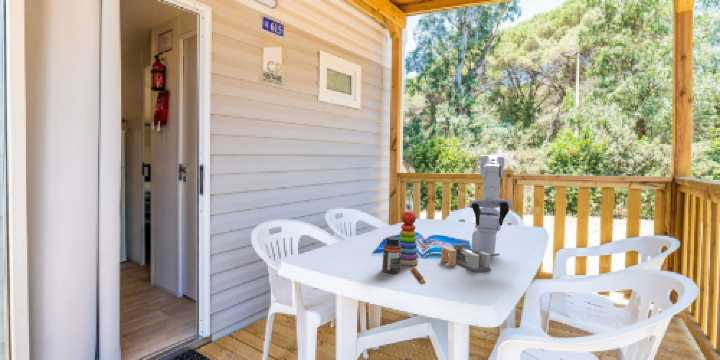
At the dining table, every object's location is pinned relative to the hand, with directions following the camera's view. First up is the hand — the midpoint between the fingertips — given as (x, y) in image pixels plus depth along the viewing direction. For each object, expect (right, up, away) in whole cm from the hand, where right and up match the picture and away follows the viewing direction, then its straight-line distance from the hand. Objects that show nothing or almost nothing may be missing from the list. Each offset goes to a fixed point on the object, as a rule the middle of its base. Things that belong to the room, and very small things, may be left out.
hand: (488, 224), depth 136 cm
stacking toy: (-28, -15, +4) cm, 32 cm away
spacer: (-13, -15, +6) cm, 21 cm away
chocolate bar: (-26, -16, -10) cm, 33 cm away
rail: (-6, -15, +7) cm, 18 cm away
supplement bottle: (-35, -15, -6) cm, 38 cm away
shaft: (-6, -14, +7) cm, 17 cm away
